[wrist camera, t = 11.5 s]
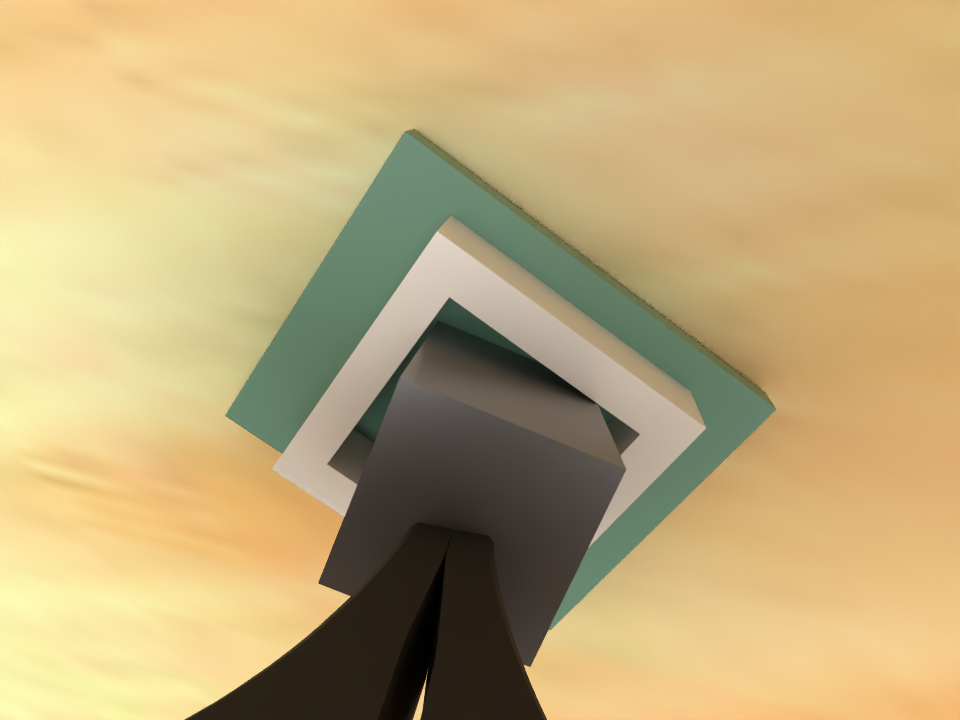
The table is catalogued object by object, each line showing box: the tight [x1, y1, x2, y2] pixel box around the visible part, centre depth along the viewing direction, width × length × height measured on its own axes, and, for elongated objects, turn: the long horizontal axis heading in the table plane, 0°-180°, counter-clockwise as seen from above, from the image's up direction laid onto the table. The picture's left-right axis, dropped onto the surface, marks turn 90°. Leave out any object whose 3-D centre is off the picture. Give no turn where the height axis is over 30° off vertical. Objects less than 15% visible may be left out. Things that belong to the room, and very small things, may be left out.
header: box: [272, 215, 706, 548], centre depth 17 cm, size 7×7×2 cm
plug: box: [319, 321, 626, 667], centre depth 15 cm, size 4×6×6 cm
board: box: [225, 129, 776, 630], centre depth 18 cm, size 11×9×1 cm
